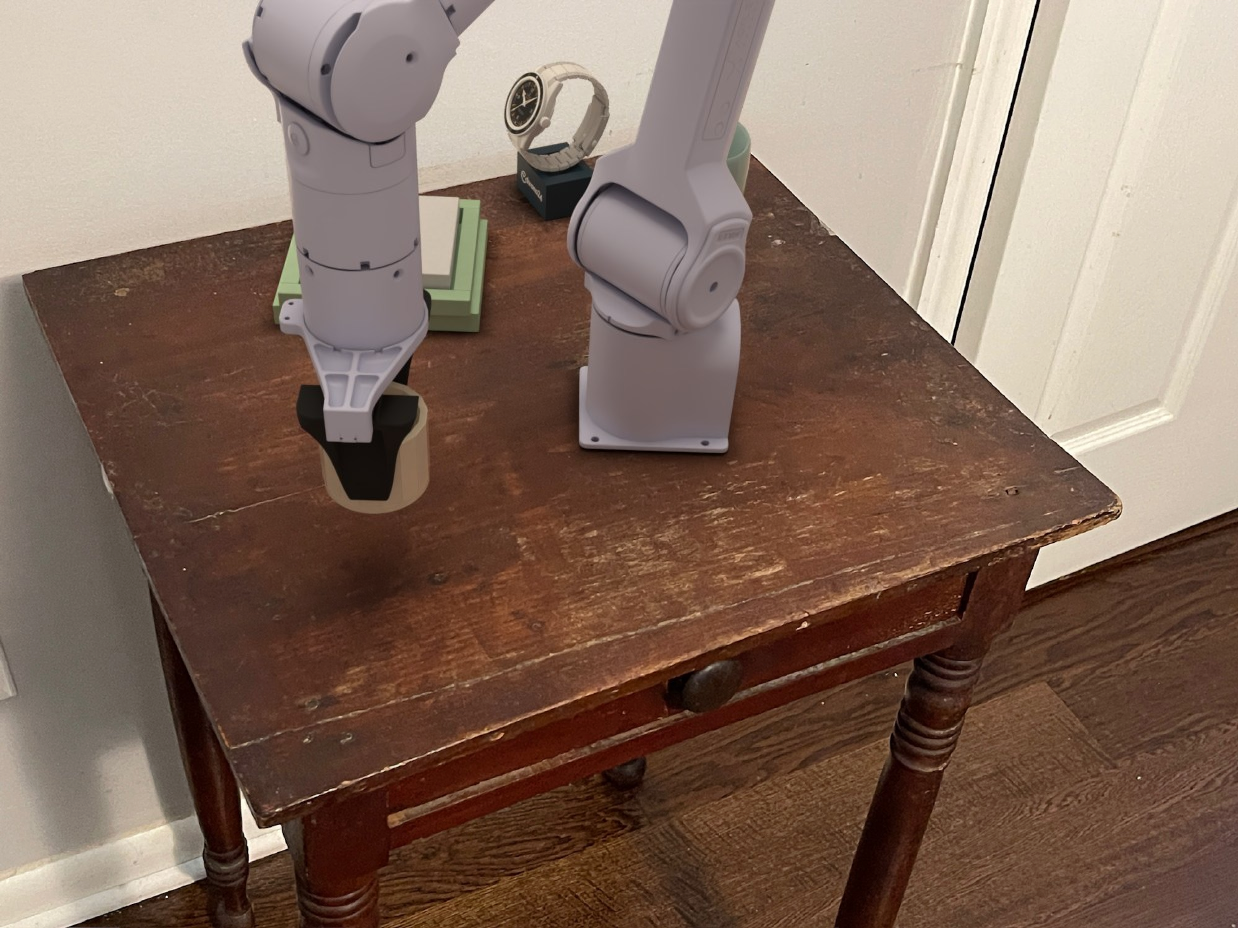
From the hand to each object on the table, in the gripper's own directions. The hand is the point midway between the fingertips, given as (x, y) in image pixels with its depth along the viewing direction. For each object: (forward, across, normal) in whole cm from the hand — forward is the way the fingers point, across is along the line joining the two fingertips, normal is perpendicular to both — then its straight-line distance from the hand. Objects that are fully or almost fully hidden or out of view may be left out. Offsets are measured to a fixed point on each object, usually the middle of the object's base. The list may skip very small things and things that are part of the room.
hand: (375, 454), depth 72 cm
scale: (+9, -28, -3) cm, 30 cm away
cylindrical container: (+2, 0, 0) cm, 2 cm away
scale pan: (+6, -28, -3) cm, 29 cm away
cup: (+9, -33, +19) cm, 39 cm away
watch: (+9, -40, +9) cm, 42 cm away
